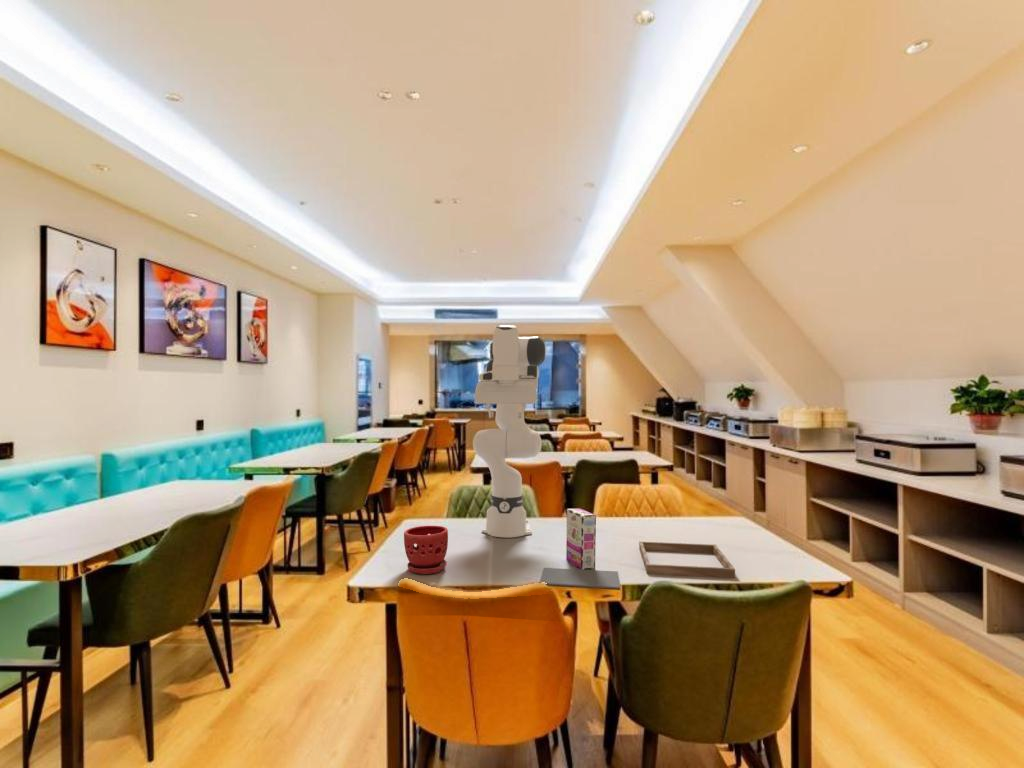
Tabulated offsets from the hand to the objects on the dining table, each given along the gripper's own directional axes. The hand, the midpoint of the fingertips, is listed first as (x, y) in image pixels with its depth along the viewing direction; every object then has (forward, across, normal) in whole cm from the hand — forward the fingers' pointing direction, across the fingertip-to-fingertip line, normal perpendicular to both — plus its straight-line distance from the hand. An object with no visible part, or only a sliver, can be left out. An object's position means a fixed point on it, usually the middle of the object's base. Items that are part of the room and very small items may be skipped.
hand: (505, 418), depth 180 cm
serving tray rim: (+45, -56, +6) cm, 72 cm away
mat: (+45, -21, +21) cm, 54 cm away
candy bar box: (+45, -23, +8) cm, 51 cm away
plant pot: (+45, +24, +12) cm, 52 cm away
